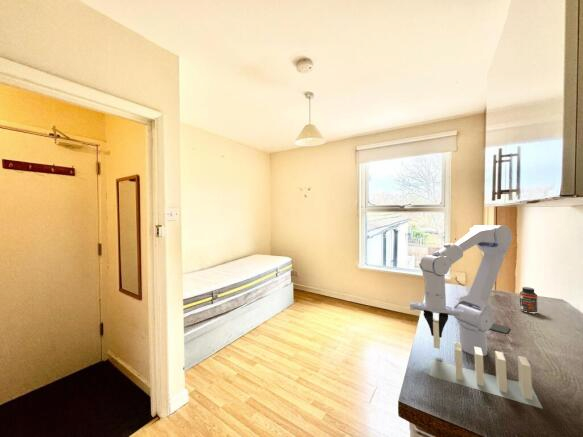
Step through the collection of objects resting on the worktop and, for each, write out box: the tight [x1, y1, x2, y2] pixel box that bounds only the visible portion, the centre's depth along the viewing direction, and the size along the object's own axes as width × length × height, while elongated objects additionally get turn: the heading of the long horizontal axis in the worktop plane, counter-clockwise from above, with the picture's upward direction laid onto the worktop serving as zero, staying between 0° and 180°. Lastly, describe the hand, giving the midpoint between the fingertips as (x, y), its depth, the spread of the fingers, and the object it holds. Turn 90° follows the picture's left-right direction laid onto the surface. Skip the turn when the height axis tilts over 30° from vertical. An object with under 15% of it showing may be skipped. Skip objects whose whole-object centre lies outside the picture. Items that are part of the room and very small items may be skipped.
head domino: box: [432, 316, 441, 350], centre depth 76 cm, size 4×2×8 cm, turn 146°
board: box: [429, 359, 544, 410], centre depth 64 cm, size 9×22×1 cm, turn 57°
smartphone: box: [488, 323, 511, 335], centre depth 99 cm, size 7×1×15 cm
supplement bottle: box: [519, 286, 539, 312], centre depth 112 cm, size 6×6×11 cm
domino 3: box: [494, 350, 508, 393], centre depth 61 cm, size 4×2×8 cm, turn 146°
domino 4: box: [517, 355, 533, 400], centre depth 59 cm, size 4×2×8 cm, turn 146°
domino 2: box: [473, 346, 485, 386], centre depth 64 cm, size 4×2×8 cm, turn 146°
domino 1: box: [454, 341, 463, 380], centre depth 66 cm, size 4×2×8 cm, turn 146°
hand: (436, 335), depth 76 cm, fingers closed on head domino, 1 cm apart
